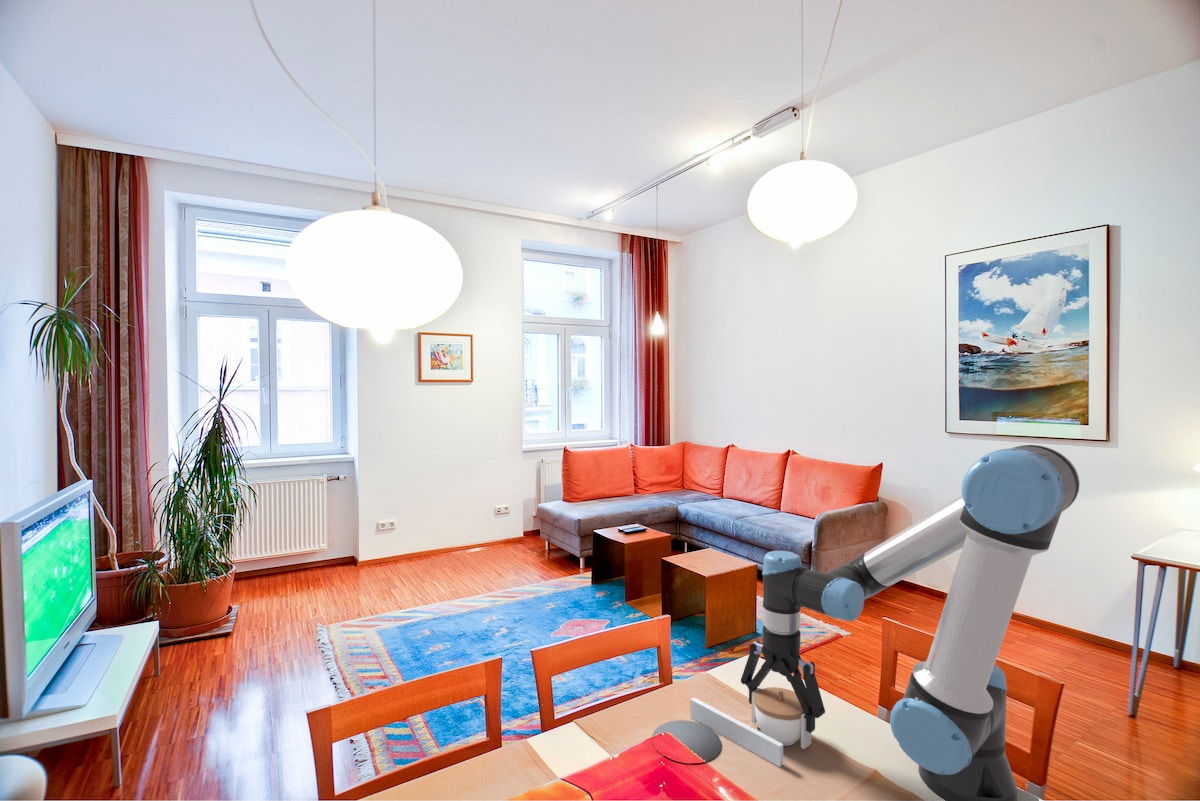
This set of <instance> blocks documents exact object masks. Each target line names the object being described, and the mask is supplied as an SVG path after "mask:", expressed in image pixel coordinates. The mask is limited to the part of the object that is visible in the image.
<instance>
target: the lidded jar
mask: <svg viewBox="0 0 1200 801" xmlns="http://www.w3.org/2000/svg"><path fill="white" fill-rule="evenodd" d="M754 703H755V716H756V721H757V722H756V723H757V726H758V728H759V729H760V732H761V733H763V734H765V735H767V736H769V737H771V738H773V739H774V740H776V741H778V742H780V743H782V744H783V747H789V746H792V745H795V743H796V742H797V741H799V739H800V740H801V715H802V714H803V713H804V711H803V709H802V707H801V705H800V702H799V700H798V698H797V696H796V694H795V692H794V690H791V689H788V688H783V687H776V686H775V687H764V688H761V690H759V691H757V692H756V694H755V696H754Z"/></svg>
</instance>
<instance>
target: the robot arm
mask: <svg viewBox="0 0 1200 801" xmlns="http://www.w3.org/2000/svg"><path fill="white" fill-rule="evenodd" d="M1080 486H1081V482H1080V477H1079V474H1078V471H1077V468H1076V467H1075V466H1074V464H1073V463H1072V462H1071V461H1070V459H1068V458H1067V457H1066V456H1064V455H1063V454H1062V453H1061V452H1059V451H1056V450H1055V449H1052V448H1050V447H1046V446H1043V445H1035V444H1026V445H1019V446H1014V447H1011V448H1003V449H997V450H994V451H992V452H989V453H986V454H985V455H983V456H982V457H980V458H979V459H978V460H977V461H975V462H974V463H973V464H972V465H971V466H970V467H969V468H968V469H967V471H966V472H965V474H964V477H963V479H962V484H961V495H960V496H958V497H956V498H955V499H953V500H951V501H950V502H948V503H946V504H945V505H943V506H942V507H940V508H938V509H936V510H934V511H933V512H932V513H929V514H928V515H926V516H925V517H923V518H922V519H920V520H918V521H916V522H915V523H913V524H911V525H909V526H908V527H906V528H904V529H903V530H901V531H899V532H897V533H896V534H894V535H893V536H891V537H889V538H888V539H886V540H885V541H882V542H881V543H879V544H877V545H876V546H874V547H873V548H871V549H869V550H867V551H866V552H865V553H862V554H861V555H859V556H856V558H854V559H852V560H850V561H849V562H847V563H845V564H843V565H841V566H838V567H836V568H833V569H831V570H828V571H826V572H821V571H816V570H812V569H809V568H806V567H803V565H802V564H803V563H802V559H801V557H800V555H799V554H797V553H795V552H792V551H789V550H788V551H787V550H772V551H769V552H767V553H766V554H765V555H764V556H763V565H762V572H761V575H762V619H761V620H762V622H761V623H762V632H761V633H762V635H761V636H762V637H761V640H762V644H761V642H760V641H759V640H756V641H754V642H751V643H750V644H749V655H748V658H747V660H746V664H745V666H744V669H743V672H742V675H741V678H740V683H741V684H742V685H745V686H746V687H747V689H748V702H749V704H750V705H751V723H753V724H756V723H757V721H756V716H755V703H754V696H755V694H756V692H757V691H759V690H761V689H762V688H760V686H761V684H762V683H763V681H764V680H765V678H766V677H767V675H768V674H769V673H770V672H771V671H772V672H774V673H779V675H781V676H783V677H785V678H786V680H787V682H788V683H790V685H791V687H792V689H793V691H794V692H795V694H796V696H797V698H798V700H799V702H800V705H801V707H802V709H803V711H804V713H803V714H802V715H801V738H800V748H801V749H803V750H805V749H806V748H807V747H809V746H810V745H812V733H813V732H814V731H815V729H816V719H819V718H821V716H823V715H824V714H826V708H825V706H824V701H823V699H822V696H821V691H820V687H819V685H818V680H817V676H816V664H815V662H814V661H809V662H807V661H805V660H803V659H802V657H801V655H800V652H801V651H800V650H801V630H800V629H801V608H804V609H807V610H810V611H814V612H816V613H818V614H819V613H820V614H821V615H825V616H828V617H830V618H831V619H835V620H841V621H845V622H854V621H856V620H857V619H859V616H860V615H861V613H862V612H863V610H864V609H863V608H864V606H865V600H866V599H869V598H872V597H874V596H875V595H877V594H879V593H880V592H883V590H885V589H888V588H889V587H890V586H893V585H895V584H896V583H898V582H899V581H902V580H904V579H907V578H908V577H910V576H912V575H914V574H916V573H917V572H919V571H921V570H924V569H925V568H927V567H929V566H930V565H933V564H934V563H937V562H938V561H940V560H942V559H943V558H946V557H947V556H949V555H952V554H953V553H955V552H958V551H959V550H961V552H960V555H959V558H958V561H957V564H956V568H955V571H954V575H953V577H952V580H951V582H950V587H949V590H948V591H947V596H946V599H945V602H944V605H943V608H942V612H941V615H940V618H939V621H938V624H937V627H936V629H935V630H936V631H935V632H934V637H933V640H932V643H931V646H930V648H929V653H928V656H927V658H926V660H924V661H920V662H916V663H915V664H914V666H913V668H912V671H911V674H910V676H909V677H910V678H909V680H908V683H907V686H906V690H905V693H904V694H903V696H902V698H901V699H900V700H898V701H896V702H895V704H894V705H893V707H892V709H891V712H890V716H889V717H890V718H889V724H890V728H891V732H892V735H893V737H894V739H896V741H897V742H898V746H899V747H900V748H901V750H902V752H904V753H905V754H906V755H907V757H909V759H911V761H912V762H914V763H916V764H917V765H918V774H919V776H920V779H921V780H922V781H923V783H924V784H925V785H926V786H927V787H928V788H929V789H930V790H932V792H934V793H935V794H937V796H939V797H941V798H943V799H944V800H946V801H1018V800H1017V799H1018V788H1017V784H1016V780H1015V777H1014V775H1013V772H1012V769H1011V766H1010V763H1009V760H1008V756H1007V755H1006V732H1007V731H1006V730H1007V728H1006V724H1007V691H1008V687H1007V679H1006V678H1007V677H1006V674H1005V672H1004V671H1003V670H1002V668H1000V667H999V666H998V665H996V661H997V658H998V656H999V653H1000V650H1001V647H1002V644H1003V641H1004V639H1005V635H1006V633H1007V630H1008V627H1009V623H1010V622H1011V621H1010V620H1011V619H1012V615H1013V612H1014V609H1015V607H1016V604H1017V600H1018V598H1019V595H1020V592H1021V589H1022V587H1023V583H1024V581H1025V577H1026V575H1027V571H1028V569H1029V567H1030V563H1031V561H1032V557H1033V556H1036V555H1038V554H1041V553H1045V552H1047V551H1048V550H1049V548H1050V545H1051V542H1052V540H1053V538H1054V534H1055V532H1056V529H1057V526H1058V523H1059V520H1060V518H1061V516H1062V513H1063V512H1064V511H1066V510H1068V508H1070V506H1072V504H1073V503H1074V502H1075V500H1076V499H1077V497H1078V495H1079V492H1080ZM761 654H762V655H763V657H764V659H765V661H764V662H763V663H762V665H761V666H760V668H759V669H758V672H757V673H756V674H755V675H754V673H755V671H756V668H757V665H758V663H759V659H760V657H761ZM799 668H800V669H799ZM802 676H803V679H802Z"/></svg>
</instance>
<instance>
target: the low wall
mask: <svg viewBox="0 0 1200 801" xmlns="http://www.w3.org/2000/svg"><path fill="white" fill-rule="evenodd" d="M689 712H690V716H689V717H690V718H691V719H693V720H694V721H695V722H697V723H700V724H703V725H705V726H707V727H709V728H710V729H712V730H713V731H714V732H715V733H718V734H720V736H721V735H722V736H723V737H725V738H727V739H728V740H730V741H732V742H734V743H735V744H738V745H739V746H741V747H742V748H744V749H746V750H748V751H749V752H752V753H753V754H755V755H757V756H759V757H761V758H762V759H764V760H766V761H768V762H770V763H772V764H773V765H774V766H777V767H778V768H781V767H782V766H783V765H784V746H783V744H782V743H780V742H778V741H776V740H774V739H773V738H771V737H769V736H767V735H765V734H763V733H762V731H759V730H757V729H755V728H753V727H751V726H749V725H747V724H746V723H744V722H742V721H740V720H738V719H736V718H734V717H732V716H730V715H729V714H728V713H727V714H726V713H725V712H723V711H721V710H719V709H716V707H713V706H711V705H710V704H707V703H705V702H703V701H702V700H700V699H698V698H696V697H692V698H690V711H689Z"/></svg>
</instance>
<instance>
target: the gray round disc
mask: <svg viewBox="0 0 1200 801" xmlns="http://www.w3.org/2000/svg"><path fill="white" fill-rule="evenodd" d="M662 732H669V733H671V734H672V735H673V736H674V737H675V738H677V739H678V740H680V741H681V742H682V743H683V744H685V746H687V747H688V748H689V749H690V750H692V751H693V752H694V753H696V754H697V755H698V756H699V757H701V758H702V759H703V760H705V761H706V762H705V763H708V762H709V761H712V760H713V759H715V758H716V757H717V756H718V755H719V754H720V752H721V748H722V742H721V739H720V737H719V735H718V734H717V732H716V731H714V730H712V729H711V728H709V727H707V726H705V725H703V724H702V723H700V722H698V721H693V720H684V719H682V720H681V719H680V720H679V719H678V720H672V721H667V722H664V723H662V724H661V725H659V726H657V727H656V728H655V730H653V733H652V735H651V737H652V736H654V735H656V734H659V733H662Z"/></svg>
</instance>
